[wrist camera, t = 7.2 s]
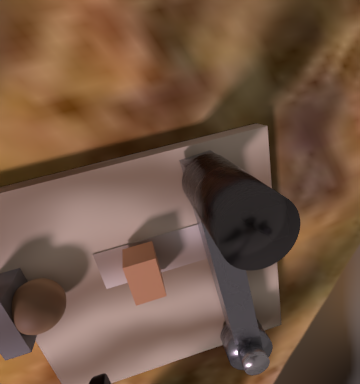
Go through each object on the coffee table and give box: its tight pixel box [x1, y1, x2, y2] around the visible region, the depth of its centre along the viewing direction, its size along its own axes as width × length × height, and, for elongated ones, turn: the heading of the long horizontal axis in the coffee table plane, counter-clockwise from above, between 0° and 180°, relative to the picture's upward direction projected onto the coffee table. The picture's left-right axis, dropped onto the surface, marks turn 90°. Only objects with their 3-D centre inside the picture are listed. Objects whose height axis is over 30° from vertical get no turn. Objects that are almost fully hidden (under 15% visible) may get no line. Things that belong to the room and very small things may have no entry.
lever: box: [179, 150, 300, 375], centre depth 16 cm, size 18×4×8 cm, turn 16°
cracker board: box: [0, 123, 281, 384], centre depth 18 cm, size 18×19×5 cm
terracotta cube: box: [122, 241, 167, 306], centre depth 17 cm, size 3×2×2 cm, turn 12°
